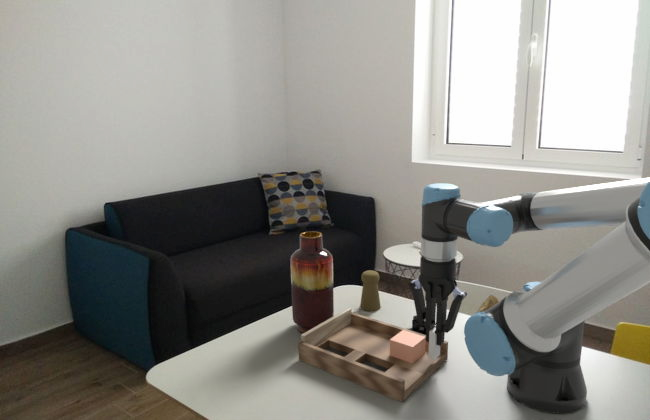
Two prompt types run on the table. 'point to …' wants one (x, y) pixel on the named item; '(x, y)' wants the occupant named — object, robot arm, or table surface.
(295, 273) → the vase
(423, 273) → the robot arm
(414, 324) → the black piece
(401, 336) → the block
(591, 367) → the table surface
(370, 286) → the cork
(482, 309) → the rock
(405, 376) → the box
